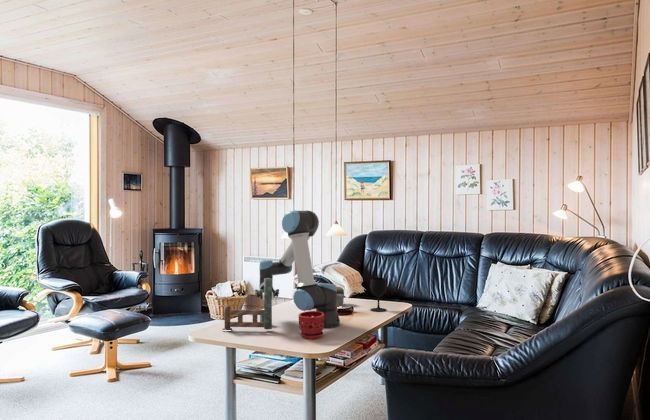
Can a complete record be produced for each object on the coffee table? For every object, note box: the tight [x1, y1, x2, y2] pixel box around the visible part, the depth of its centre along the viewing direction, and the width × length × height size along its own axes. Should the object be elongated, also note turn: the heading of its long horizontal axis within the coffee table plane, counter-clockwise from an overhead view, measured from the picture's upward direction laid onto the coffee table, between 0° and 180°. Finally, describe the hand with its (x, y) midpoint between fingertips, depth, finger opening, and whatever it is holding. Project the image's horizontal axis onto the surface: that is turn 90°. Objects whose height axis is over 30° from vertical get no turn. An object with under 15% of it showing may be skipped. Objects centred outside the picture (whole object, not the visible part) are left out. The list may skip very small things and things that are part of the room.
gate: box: [223, 278, 273, 330], centre depth 275 cm, size 26×4×27 cm, turn 86°
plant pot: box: [297, 310, 324, 340], centre depth 262 cm, size 13×13×12 cm
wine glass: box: [369, 277, 388, 313], centre depth 326 cm, size 10×10×20 cm
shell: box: [336, 286, 345, 296], centre depth 344 cm, size 11×11×12 cm
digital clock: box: [337, 294, 345, 307], centre depth 325 cm, size 16×9×11 cm, turn 87°
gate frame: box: [222, 315, 264, 331], centre depth 283 cm, size 5×27×8 cm, turn 127°
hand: (268, 297), depth 269 cm, fingers open, 4 cm apart
